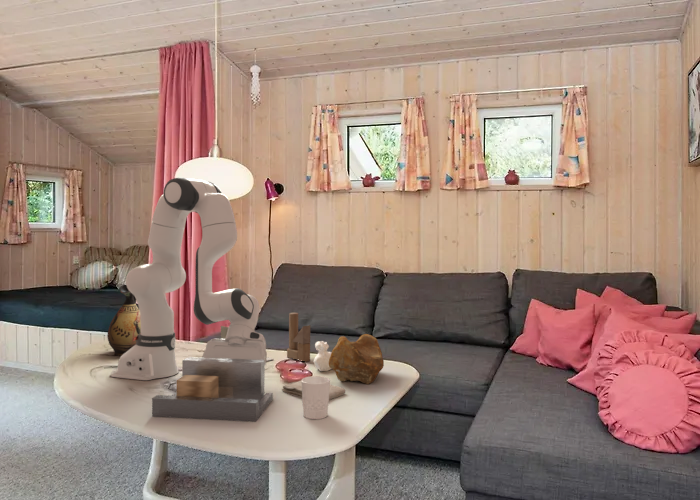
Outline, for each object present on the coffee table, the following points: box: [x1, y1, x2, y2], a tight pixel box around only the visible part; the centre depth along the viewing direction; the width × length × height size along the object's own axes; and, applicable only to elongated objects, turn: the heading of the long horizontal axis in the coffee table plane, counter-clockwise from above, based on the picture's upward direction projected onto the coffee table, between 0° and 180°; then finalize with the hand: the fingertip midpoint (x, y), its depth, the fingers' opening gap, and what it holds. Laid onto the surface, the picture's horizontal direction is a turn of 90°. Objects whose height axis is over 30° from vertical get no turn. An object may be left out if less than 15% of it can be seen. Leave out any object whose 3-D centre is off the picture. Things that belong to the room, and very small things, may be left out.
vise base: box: [151, 391, 274, 422], centre depth 158 cm, size 29×19×5 cm, turn 84°
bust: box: [312, 340, 333, 372], centre depth 203 cm, size 12×8×11 cm
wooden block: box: [286, 312, 311, 363], centre depth 216 cm, size 4×11×18 cm, turn 42°
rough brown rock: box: [329, 333, 385, 385], centre depth 189 cm, size 23×17×15 cm
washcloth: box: [281, 379, 346, 401], centre depth 173 cm, size 12×18×3 cm, turn 53°
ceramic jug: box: [106, 283, 141, 357], centre depth 223 cm, size 17×15×30 cm
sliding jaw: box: [181, 356, 266, 401], centre depth 165 cm, size 24×4×12 cm, turn 84°
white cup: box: [301, 375, 331, 420], centre depth 152 cm, size 8×8×10 cm
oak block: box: [176, 375, 219, 398], centre depth 156 cm, size 10×6×9 cm, turn 84°
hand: (229, 377), depth 170 cm, fingers closed
